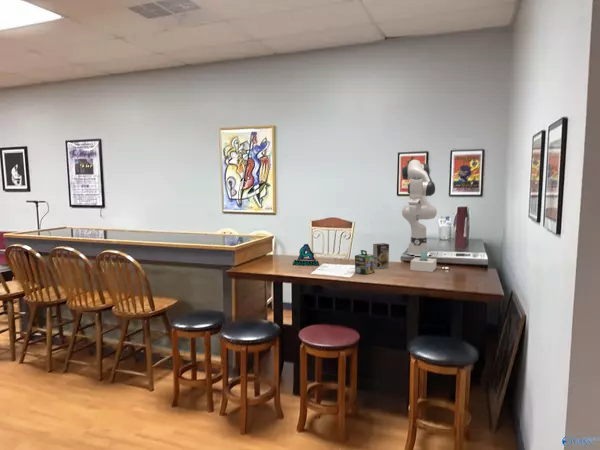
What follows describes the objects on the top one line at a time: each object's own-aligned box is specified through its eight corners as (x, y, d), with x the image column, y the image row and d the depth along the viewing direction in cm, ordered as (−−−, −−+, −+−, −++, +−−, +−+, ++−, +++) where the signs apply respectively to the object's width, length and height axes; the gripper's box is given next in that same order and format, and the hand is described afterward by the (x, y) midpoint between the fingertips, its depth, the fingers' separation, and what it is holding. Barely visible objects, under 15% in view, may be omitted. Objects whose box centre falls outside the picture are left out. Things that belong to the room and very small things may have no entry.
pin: (421, 264, 277) (421, 250, 276) (427, 265, 275) (427, 250, 274) (419, 265, 274) (420, 251, 273) (426, 266, 272) (426, 251, 271)
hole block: (415, 265, 284) (415, 257, 284) (436, 267, 278) (436, 258, 277) (410, 270, 272) (410, 261, 271) (432, 272, 265) (432, 262, 265)
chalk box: (374, 272, 266) (374, 249, 265) (365, 275, 260) (365, 251, 259) (363, 270, 273) (363, 248, 272) (354, 272, 267) (354, 250, 266)
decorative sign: (319, 265, 291) (319, 244, 289) (318, 266, 289) (318, 244, 287) (293, 264, 296) (293, 243, 294) (292, 265, 293) (292, 244, 292)
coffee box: (377, 268, 277) (377, 245, 275) (372, 267, 283) (372, 243, 281) (389, 267, 280) (389, 244, 278) (383, 265, 286) (384, 242, 284)
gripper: (414, 199, 292) (414, 219, 294) (407, 202, 275) (407, 222, 276) (423, 200, 290) (423, 219, 291) (417, 202, 272) (417, 223, 273)
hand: (415, 221), depth 284 cm, fingers open, 8 cm apart
